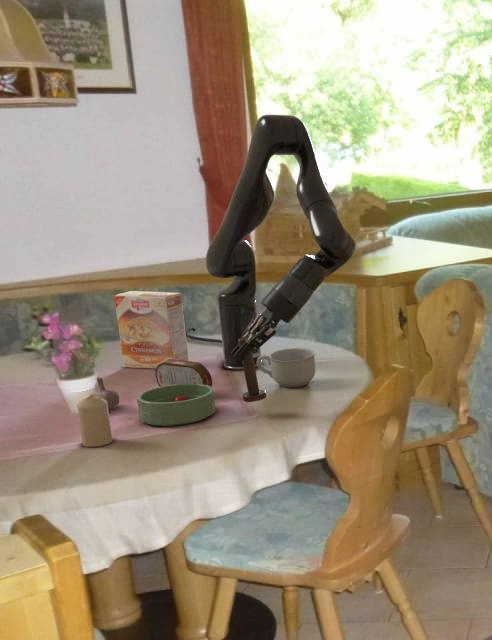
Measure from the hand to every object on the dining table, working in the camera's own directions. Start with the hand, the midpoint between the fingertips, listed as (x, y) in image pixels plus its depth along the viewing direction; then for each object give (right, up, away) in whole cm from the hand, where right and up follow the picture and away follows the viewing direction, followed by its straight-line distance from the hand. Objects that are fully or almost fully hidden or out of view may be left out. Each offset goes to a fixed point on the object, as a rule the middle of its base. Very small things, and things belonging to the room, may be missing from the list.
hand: (236, 357), depth 225 cm
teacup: (+1, -7, +29) cm, 30 cm away
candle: (-24, -18, -13) cm, 33 cm away
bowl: (-15, -13, +4) cm, 20 cm away
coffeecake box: (-40, -2, +47) cm, 61 cm away
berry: (-16, -10, +7) cm, 20 cm away
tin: (-20, -9, +20) cm, 30 cm away
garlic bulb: (-34, -12, +8) cm, 37 cm away
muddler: (+3, -9, +4) cm, 10 cm away
